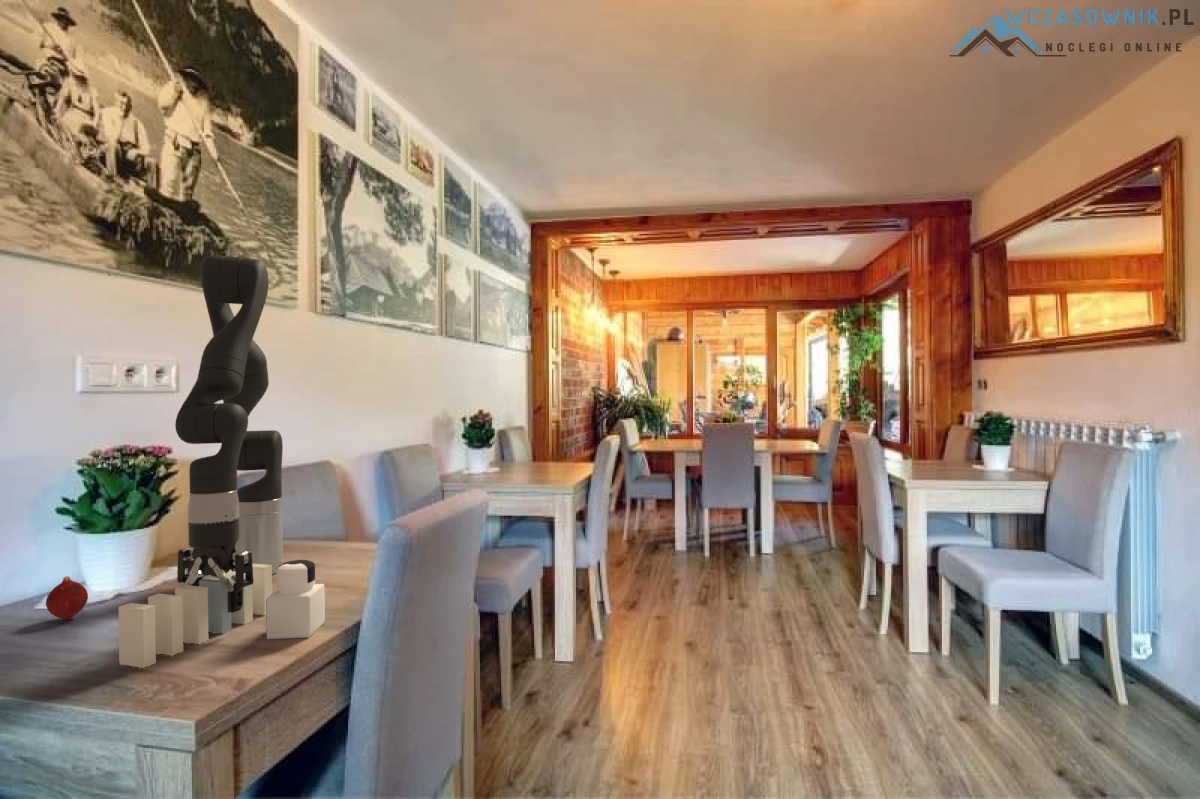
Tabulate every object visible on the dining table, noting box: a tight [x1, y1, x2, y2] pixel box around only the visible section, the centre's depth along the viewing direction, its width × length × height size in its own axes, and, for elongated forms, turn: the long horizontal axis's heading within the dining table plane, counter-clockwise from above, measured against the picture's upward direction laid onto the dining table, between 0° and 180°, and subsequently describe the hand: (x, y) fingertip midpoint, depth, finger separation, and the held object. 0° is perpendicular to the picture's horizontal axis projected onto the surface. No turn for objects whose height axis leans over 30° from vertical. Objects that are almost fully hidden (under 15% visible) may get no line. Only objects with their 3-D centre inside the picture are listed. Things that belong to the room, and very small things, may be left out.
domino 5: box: [228, 569, 254, 626], centre depth 109 cm, size 5×2×9 cm, turn 75°
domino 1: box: [118, 602, 157, 667], centre depth 91 cm, size 5×2×9 cm, turn 75°
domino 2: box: [147, 593, 184, 656], centre depth 96 cm, size 5×2×9 cm, turn 75°
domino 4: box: [199, 576, 232, 635], centre depth 104 cm, size 5×2×9 cm, turn 74°
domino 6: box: [252, 564, 273, 617], centre depth 113 cm, size 5×2×9 cm, turn 75°
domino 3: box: [174, 584, 210, 645], centre depth 100 cm, size 5×2×9 cm, turn 75°
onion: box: [45, 575, 89, 621], centre depth 110 cm, size 6×6×8 cm
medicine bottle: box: [265, 559, 326, 640], centre depth 104 cm, size 7×7×12 cm
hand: (215, 609), depth 104 cm, fingers open, 8 cm apart
